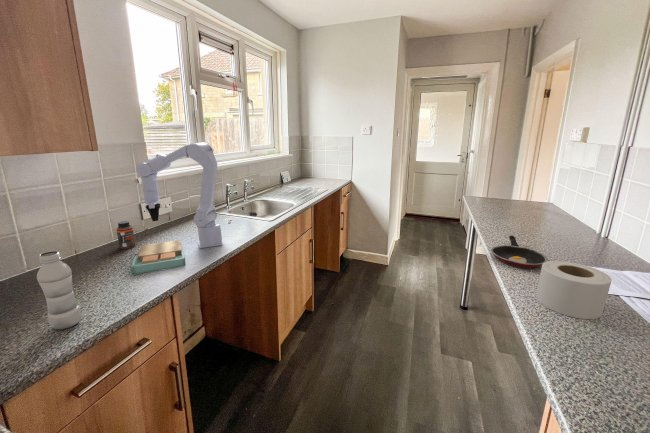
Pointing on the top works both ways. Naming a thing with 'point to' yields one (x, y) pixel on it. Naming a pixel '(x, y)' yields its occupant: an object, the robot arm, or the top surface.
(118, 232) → the supplement bottle
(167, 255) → the tile
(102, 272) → the top surface
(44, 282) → the plastic bottle
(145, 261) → the tile
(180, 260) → the tray
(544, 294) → the roll of tape
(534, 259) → the frying pan
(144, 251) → the board
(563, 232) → the top surface
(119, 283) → the top surface
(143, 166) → the robot arm
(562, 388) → the top surface
